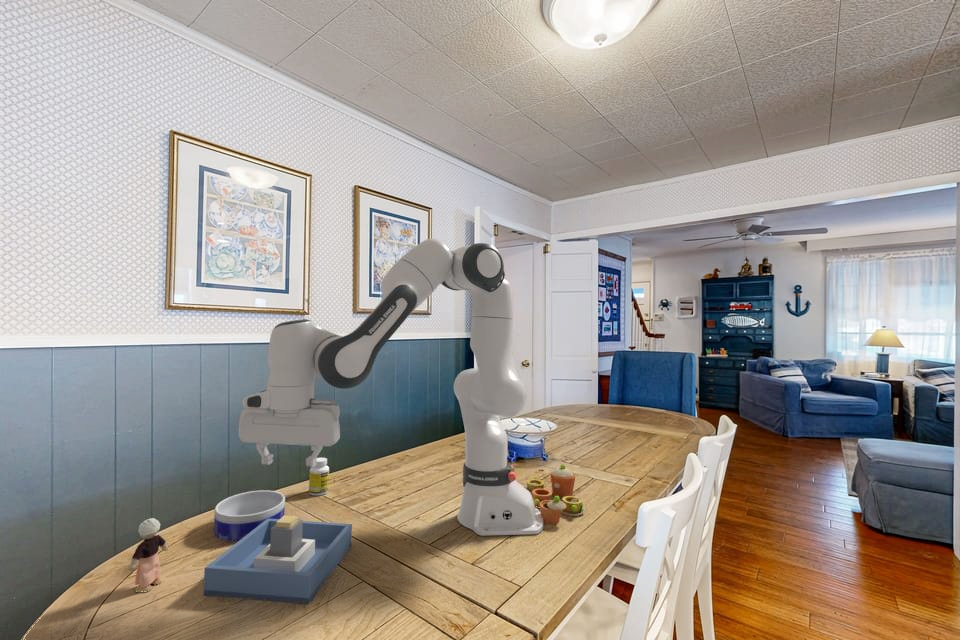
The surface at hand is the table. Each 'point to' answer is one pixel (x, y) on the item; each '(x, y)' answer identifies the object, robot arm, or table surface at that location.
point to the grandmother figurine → (148, 555)
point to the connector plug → (286, 537)
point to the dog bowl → (246, 513)
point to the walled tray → (278, 564)
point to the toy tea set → (556, 496)
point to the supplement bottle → (319, 478)
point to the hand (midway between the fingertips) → (289, 465)
